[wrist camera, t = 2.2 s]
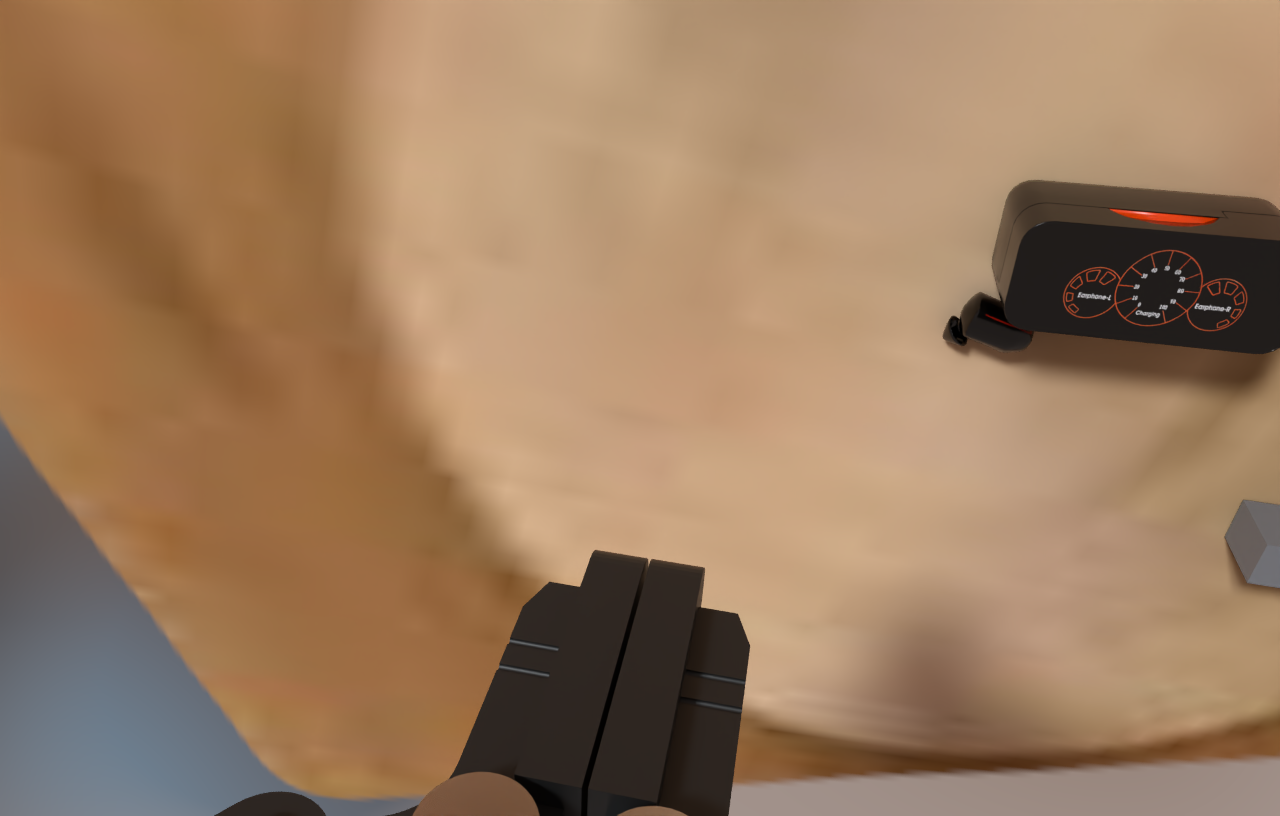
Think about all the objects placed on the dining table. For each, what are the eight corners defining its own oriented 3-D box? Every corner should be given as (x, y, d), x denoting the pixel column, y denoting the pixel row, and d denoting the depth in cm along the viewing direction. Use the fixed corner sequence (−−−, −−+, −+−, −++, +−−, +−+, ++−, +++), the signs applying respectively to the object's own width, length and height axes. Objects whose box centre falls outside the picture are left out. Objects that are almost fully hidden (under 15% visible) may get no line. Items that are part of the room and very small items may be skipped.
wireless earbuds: (975, 168, 24) (989, 215, 22) (1279, 192, 23) (1333, 245, 21) (940, 329, 27) (948, 389, 24) (1213, 358, 26) (1253, 424, 23)
